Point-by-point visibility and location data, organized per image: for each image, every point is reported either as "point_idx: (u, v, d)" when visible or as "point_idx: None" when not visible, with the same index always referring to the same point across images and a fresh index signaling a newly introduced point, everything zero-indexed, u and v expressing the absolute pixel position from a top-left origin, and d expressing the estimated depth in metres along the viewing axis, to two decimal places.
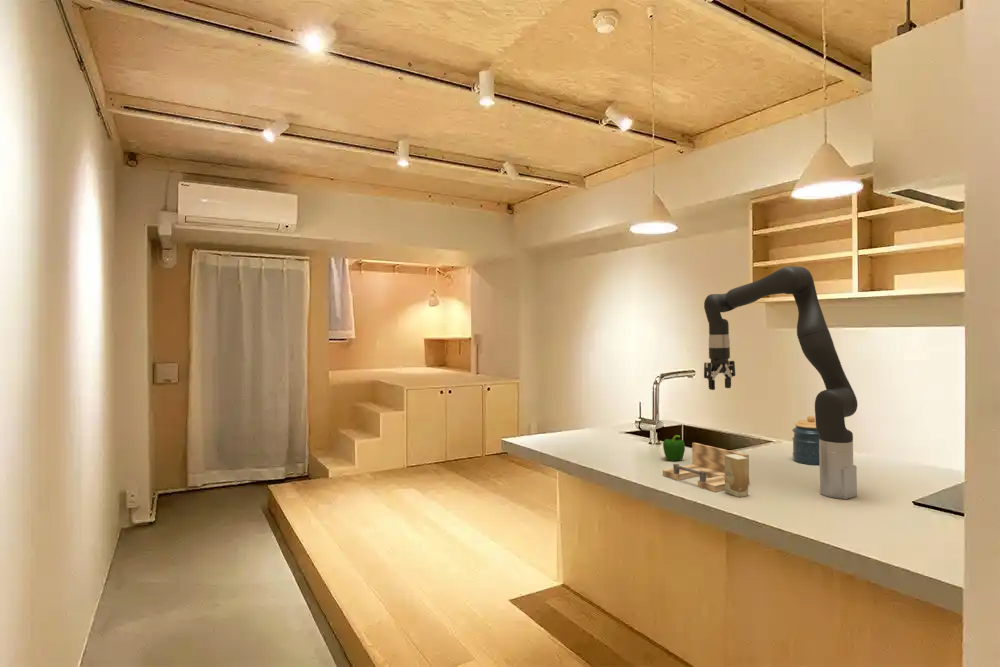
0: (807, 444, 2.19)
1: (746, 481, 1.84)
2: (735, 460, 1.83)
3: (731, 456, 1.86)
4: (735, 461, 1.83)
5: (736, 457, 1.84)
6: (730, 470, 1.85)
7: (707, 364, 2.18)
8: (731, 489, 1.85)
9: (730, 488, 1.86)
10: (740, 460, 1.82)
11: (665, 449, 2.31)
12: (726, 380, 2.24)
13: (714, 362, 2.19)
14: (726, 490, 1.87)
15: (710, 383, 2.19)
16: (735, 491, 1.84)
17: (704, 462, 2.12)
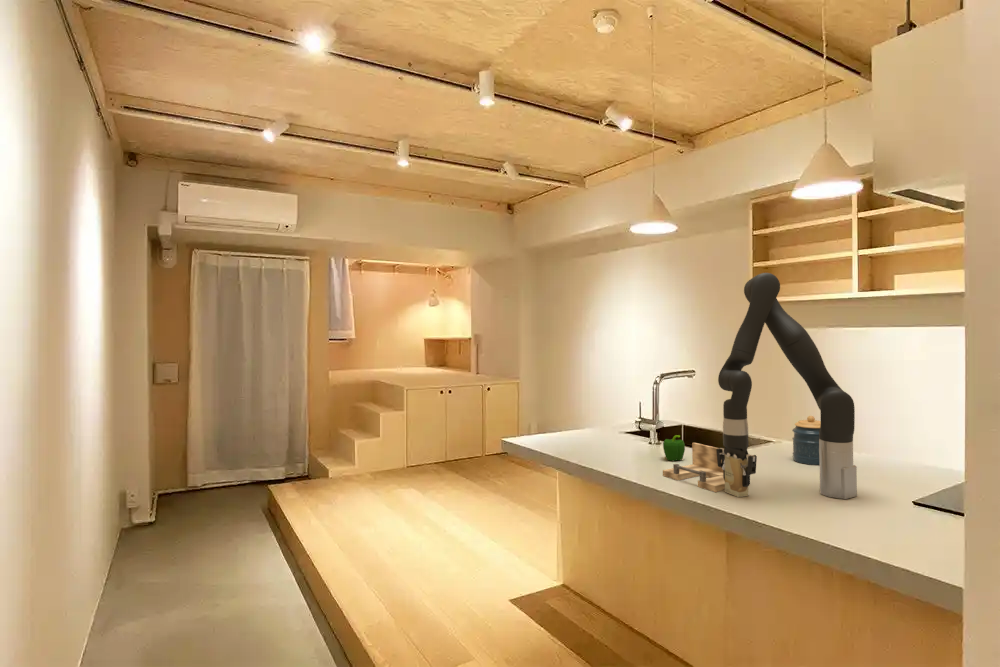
0: (807, 444, 2.19)
1: None
2: (735, 460, 1.83)
3: (731, 456, 1.86)
4: (735, 461, 1.83)
5: None
6: (730, 470, 1.85)
7: (754, 458, 1.80)
8: (731, 489, 1.85)
9: (730, 488, 1.86)
10: (740, 460, 1.82)
11: (665, 449, 2.31)
12: None
13: None
14: (726, 490, 1.87)
15: (748, 479, 1.82)
16: (735, 491, 1.84)
17: (704, 462, 2.12)
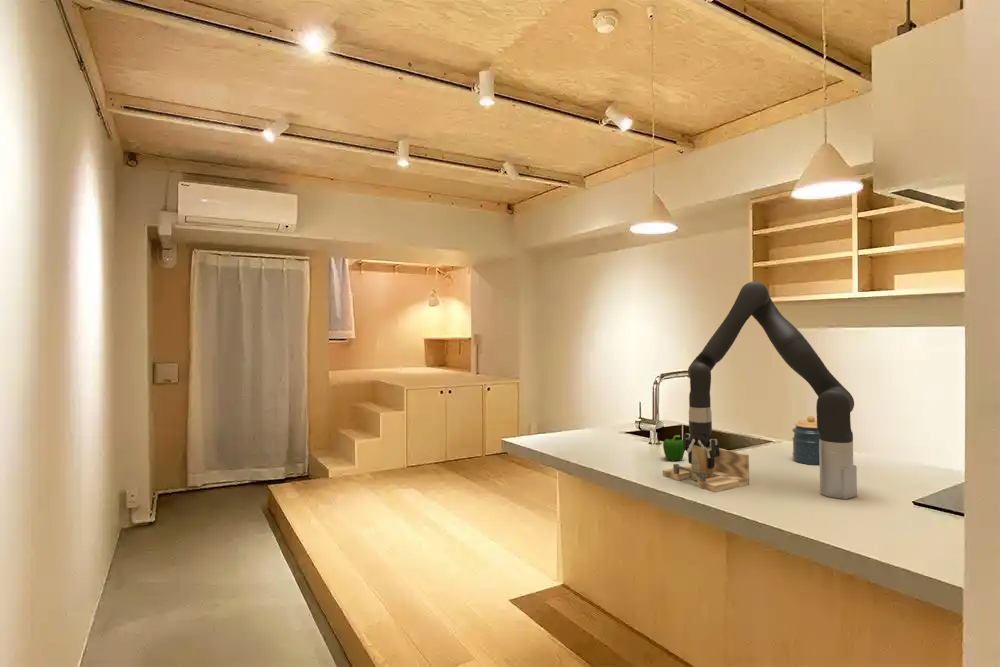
0: (807, 444, 2.19)
1: None
2: (701, 449, 1.99)
3: (697, 446, 2.02)
4: (701, 450, 1.99)
5: None
6: (697, 458, 2.01)
7: (716, 441, 1.96)
8: (697, 476, 2.01)
9: (696, 475, 2.01)
10: None
11: (665, 449, 2.31)
12: None
13: (710, 437, 1.99)
14: (693, 477, 2.03)
15: (713, 461, 1.98)
16: None
17: None
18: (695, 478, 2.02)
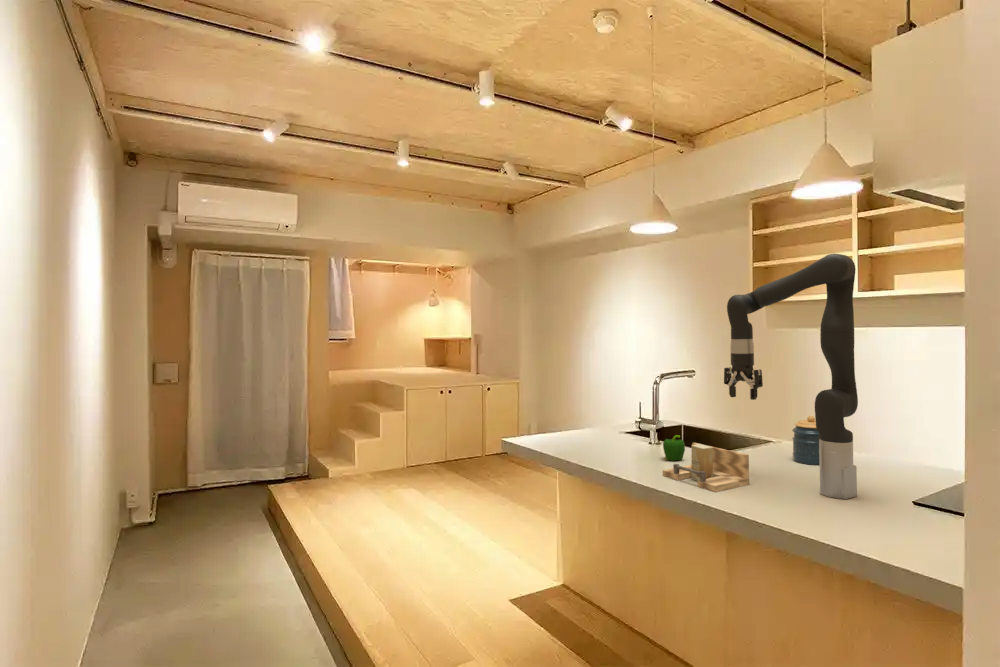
0: (807, 444, 2.19)
1: (710, 469, 2.00)
2: (700, 449, 1.99)
3: (697, 446, 2.02)
4: (701, 450, 1.99)
5: (701, 447, 2.00)
6: (696, 458, 2.01)
7: (759, 371, 1.97)
8: (697, 476, 2.01)
9: (696, 476, 2.01)
10: (705, 449, 1.98)
11: (665, 449, 2.31)
12: (733, 389, 2.06)
13: None
14: (693, 477, 2.03)
15: (756, 392, 1.98)
16: None
17: None
18: (695, 478, 2.02)
